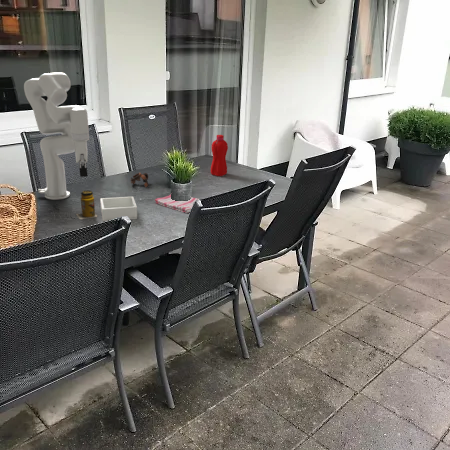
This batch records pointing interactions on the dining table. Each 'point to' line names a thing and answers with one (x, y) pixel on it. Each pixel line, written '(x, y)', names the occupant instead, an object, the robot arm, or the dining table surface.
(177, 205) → the dish towel
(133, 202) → the bin
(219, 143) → the water bottle
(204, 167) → the dining table surface
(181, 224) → the dining table surface
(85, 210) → the condiment
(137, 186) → the dining table surface
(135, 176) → the brown jointed arch figure
